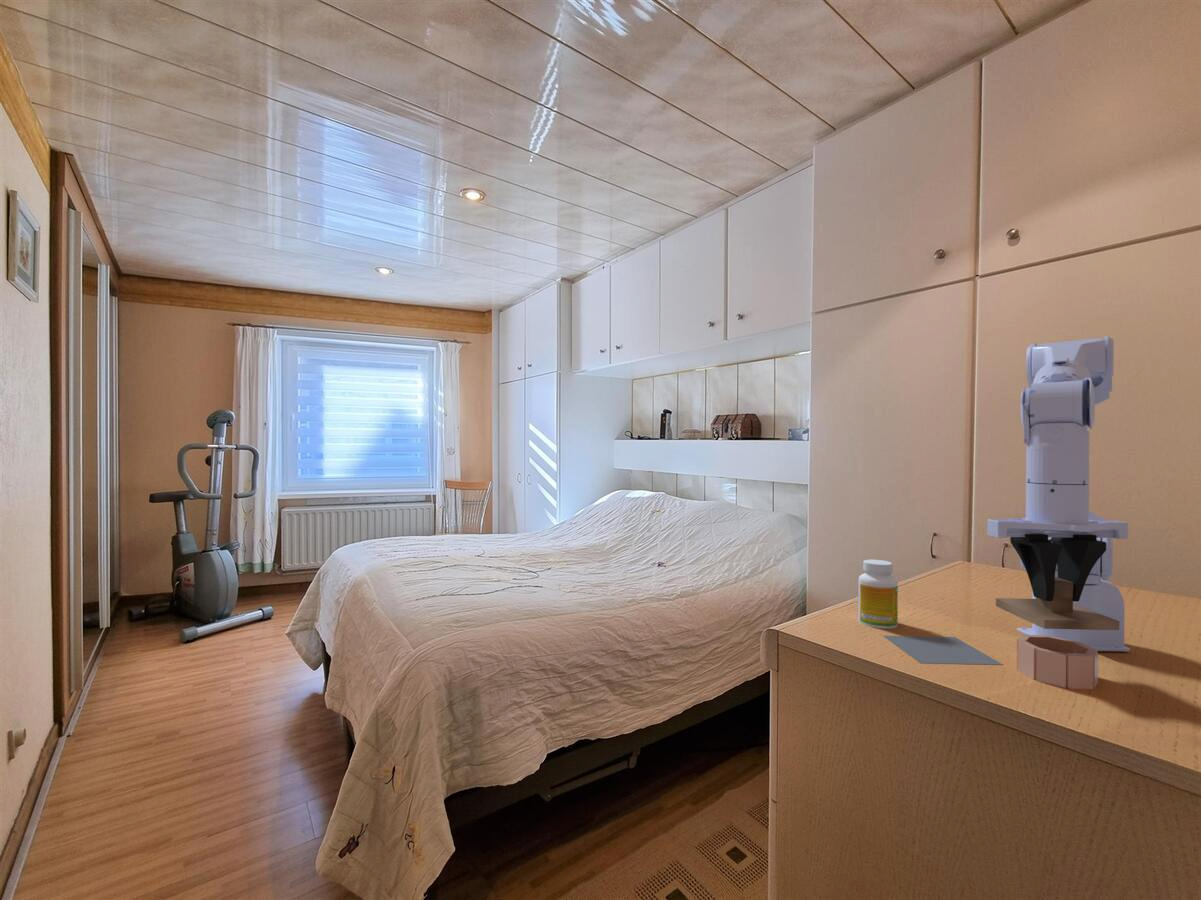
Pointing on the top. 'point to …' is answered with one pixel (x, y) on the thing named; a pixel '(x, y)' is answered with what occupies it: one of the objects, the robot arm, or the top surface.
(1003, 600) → the lid
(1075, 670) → the bowl
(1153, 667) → the top surface
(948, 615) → the top surface
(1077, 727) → the top surface
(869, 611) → the supplement bottle
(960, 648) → the mat
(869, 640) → the top surface
